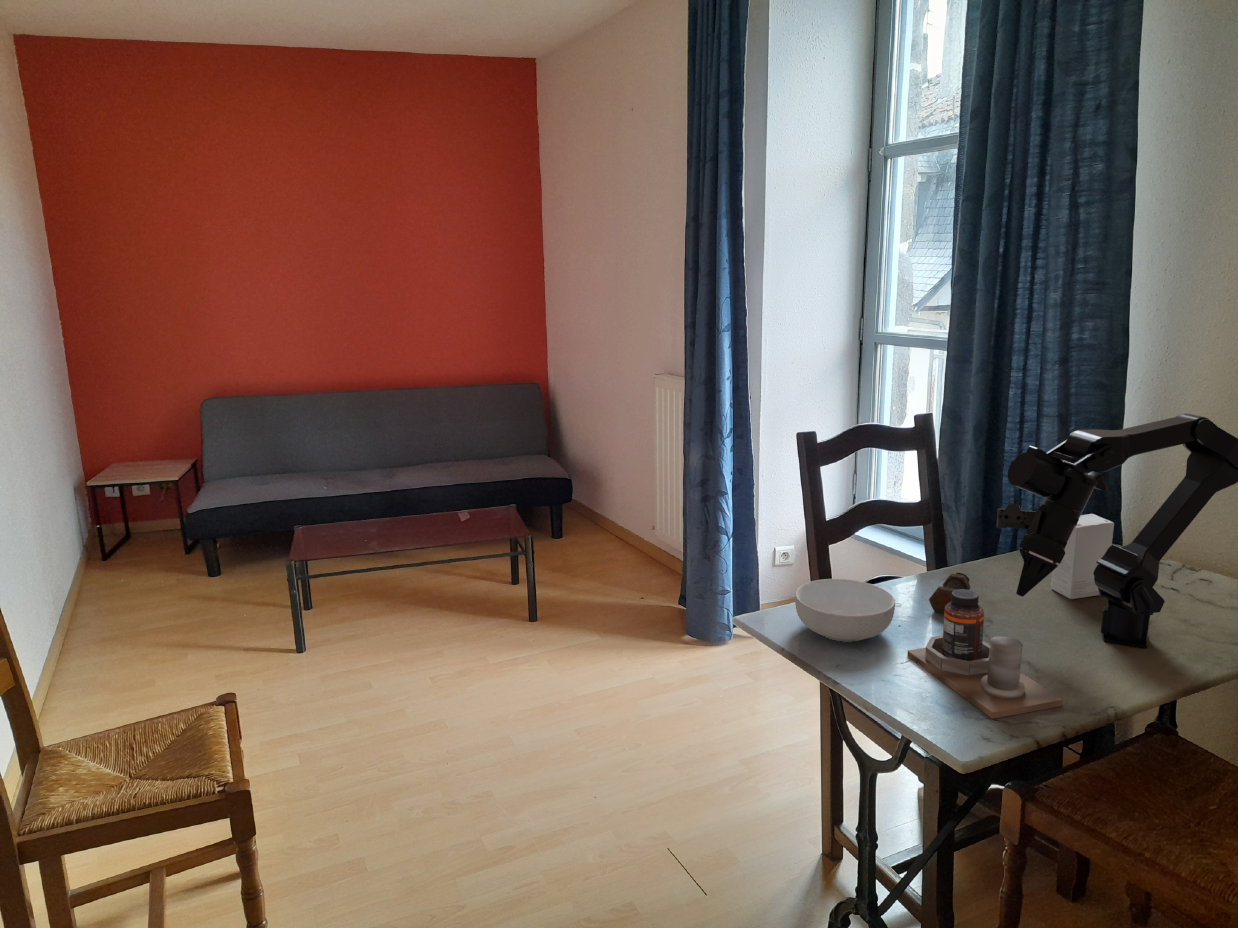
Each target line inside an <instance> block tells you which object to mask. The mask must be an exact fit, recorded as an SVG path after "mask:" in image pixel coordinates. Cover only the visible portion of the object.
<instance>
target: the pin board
mask: <svg viewBox="0 0 1238 928" xmlns="http://www.w3.org/2000/svg"><path fill="white" fill-rule="evenodd" d="M942 645H943V634H942V635H935V636H931V637H930V638H929V640H928V642H927V644H926V646H925V647H921V648H914V649H910V650H907V655H906V656H907V657H908V658H910V660H912V662H913V661H914V662H915V663H916V664H918V665H919V666H920V667H921V668H923V669H924V670H925V671H927V672H928V673H929V674H931V675H933V677H935V678H937V679H938V681H941V682H942V683H943V684H944V685H946V686H947V687H949V688H950V689H951V690H953V691H954V692H955V693H957V694H958V695H959V696H961V697H962V698H963V699H965V700H966V701H967V702H969V703H970V704H972V705H973V706H974V707H975V708H977V709H978V710H980V711H981V712H982V713H984V714H985V715H986V716H987V717H989V718H991V720H992V719H993V720H994V719H998V718H1004V717H1009V716H1015V715H1019V714H1021V715H1022V714H1025V713H1031V712H1035V711H1042V710H1046V709H1051V708H1052V709H1053V708H1057V707H1063V703H1064V699H1063V698H1061V697H1060V696H1059V695H1057V694H1055V693H1054V692H1052V691H1050V689H1047V688H1046V687H1044V686H1043V685H1042V684H1040V683H1038V682H1036V681H1035V680H1033V679H1031V678H1030V677H1029V676H1027V675H1025V674H1023V673H1022V671H1021V668H1022V667H1021V666H1022V658H1023V657H1022V655H1023V647H1024V645H1023V643H1022V642H1021V641H1020V640H1019V639H1016V638H1013V637H1009V636H1001V635H1000V636H999V635H998V636H994V637H992V638H990V641H989V643H987V642H986V641H984V640H983V642H982V656H981V659H979V660H973V661H965V660H960V659H955V658H949V657H945V656H943V655H942Z"/></svg>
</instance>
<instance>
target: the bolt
mask: <svg viewBox="0 0 1238 928" xmlns="http://www.w3.org/2000/svg"><path fill="white" fill-rule="evenodd" d="M958 589H966V590H971V585H970V577H968V576H967V575H966V574H965V573H962V572H956V573H950V574H949V576H948V577H947V578H946V579H945V581H944V582H943V583H942V586H940V585H939V586H938V587H937V589H936V590H935V591H934V592H933V593H932V595H931V596H930V598H929V599H928V601H929V603H930V606H931V609H932V610H933V612H934V613H935V614H938V615H941V616H944V609H945V606H946V605H947V604H948V603H950V602H951V601H952V600H951V597H952V592H953V591H954V590H958Z"/></svg>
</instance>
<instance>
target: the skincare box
mask: <svg viewBox="0 0 1238 928" xmlns="http://www.w3.org/2000/svg"><path fill="white" fill-rule="evenodd" d="M1114 528H1115V523H1114V522H1113V521H1111V520H1109V519H1106V518H1104V517H1101V516H1099V515H1096V514H1094V513H1089V514H1088V513H1087V514H1081V516H1080V518H1079V521H1078V523H1077V525H1076V526H1075V528H1074V530H1073V532H1072V534H1071V536H1070V538H1069V540H1068V542H1067V545H1066V547H1065V549H1064V550H1065V555H1064V557H1063V559H1062V561H1061V563H1060V564H1059V563H1056V564H1058V567H1057V568H1056V569H1054V570H1053V571H1052V572H1051V580H1050V582H1051V583H1050V588H1051V590H1053V591H1055V592H1057V593H1059V594H1060V595H1062V596H1064V597H1065V598H1068V599H1069V600H1075V599H1082V598H1088V597H1094V596H1100V595H1099V590H1098V587H1097V586H1096V584H1095V581H1094V575H1093V573H1094V570H1095V568H1096V567H1097V565H1098V563H1096V561H1098V560H1099V559H1101V558H1102V557H1103V556H1104V554H1105V553H1106V551H1107V550H1108V548H1109V547H1110V546H1111V545H1113V536H1114Z"/></svg>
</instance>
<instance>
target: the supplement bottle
mask: <svg viewBox="0 0 1238 928" xmlns="http://www.w3.org/2000/svg"><path fill="white" fill-rule="evenodd" d="M979 597H980V596H979V593H977V592H976V591H973V590H971V589H970V590H966V589H958V590H954V591H953V592H952V597H951V600H952V601H951V602H950V603H948V604H947V605H946V606H945V609H944V615H943V628H942V631H943V632H942V635H943V645H942V655H943V656H945V657H949V658H955V659H960V660H965V661H973V660H979V659H981V656H982V642H983V641H984V640H983V639H984V623H985V621H984V620H985V611H984V609H983V607H982V606H980V605H979Z"/></svg>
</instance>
